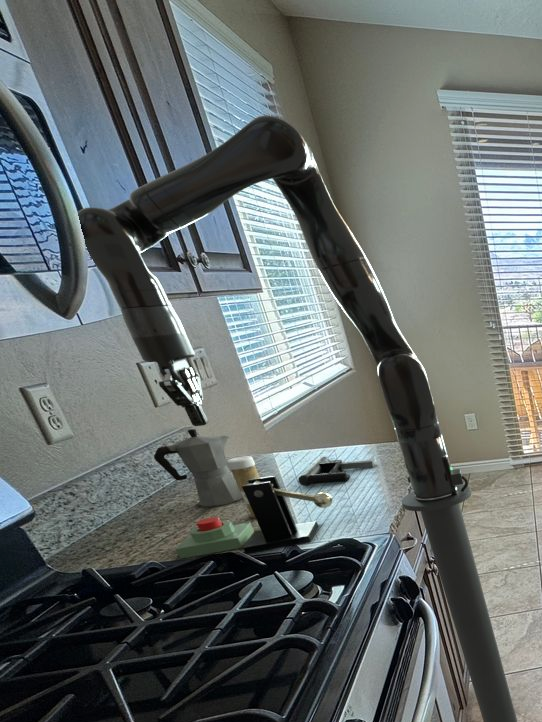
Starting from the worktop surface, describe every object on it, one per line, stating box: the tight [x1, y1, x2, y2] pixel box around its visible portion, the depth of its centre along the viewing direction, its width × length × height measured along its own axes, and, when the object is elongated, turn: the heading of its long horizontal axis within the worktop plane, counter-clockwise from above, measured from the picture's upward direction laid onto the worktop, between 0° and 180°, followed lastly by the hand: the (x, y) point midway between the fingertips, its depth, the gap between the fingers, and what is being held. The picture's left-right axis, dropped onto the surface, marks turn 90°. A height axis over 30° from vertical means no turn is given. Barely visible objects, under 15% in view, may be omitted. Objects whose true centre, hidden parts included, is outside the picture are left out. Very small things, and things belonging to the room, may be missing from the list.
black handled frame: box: [296, 456, 375, 487], centre depth 155 cm, size 3×20×16 cm
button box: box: [175, 520, 255, 560], centre depth 115 cm, size 10×9×4 cm
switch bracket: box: [242, 474, 319, 554], centre depth 114 cm, size 11×9×13 cm
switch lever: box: [253, 481, 333, 509], centre depth 114 cm, size 13×3×3 cm, turn 114°
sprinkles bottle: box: [226, 455, 261, 519], centre depth 127 cm, size 5×5×14 cm
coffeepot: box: [153, 428, 243, 508], centre depth 136 cm, size 15×9×18 cm, turn 158°
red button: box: [195, 516, 222, 531], centre depth 113 cm, size 4×4×2 cm
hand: (201, 424), depth 112 cm, fingers closed
